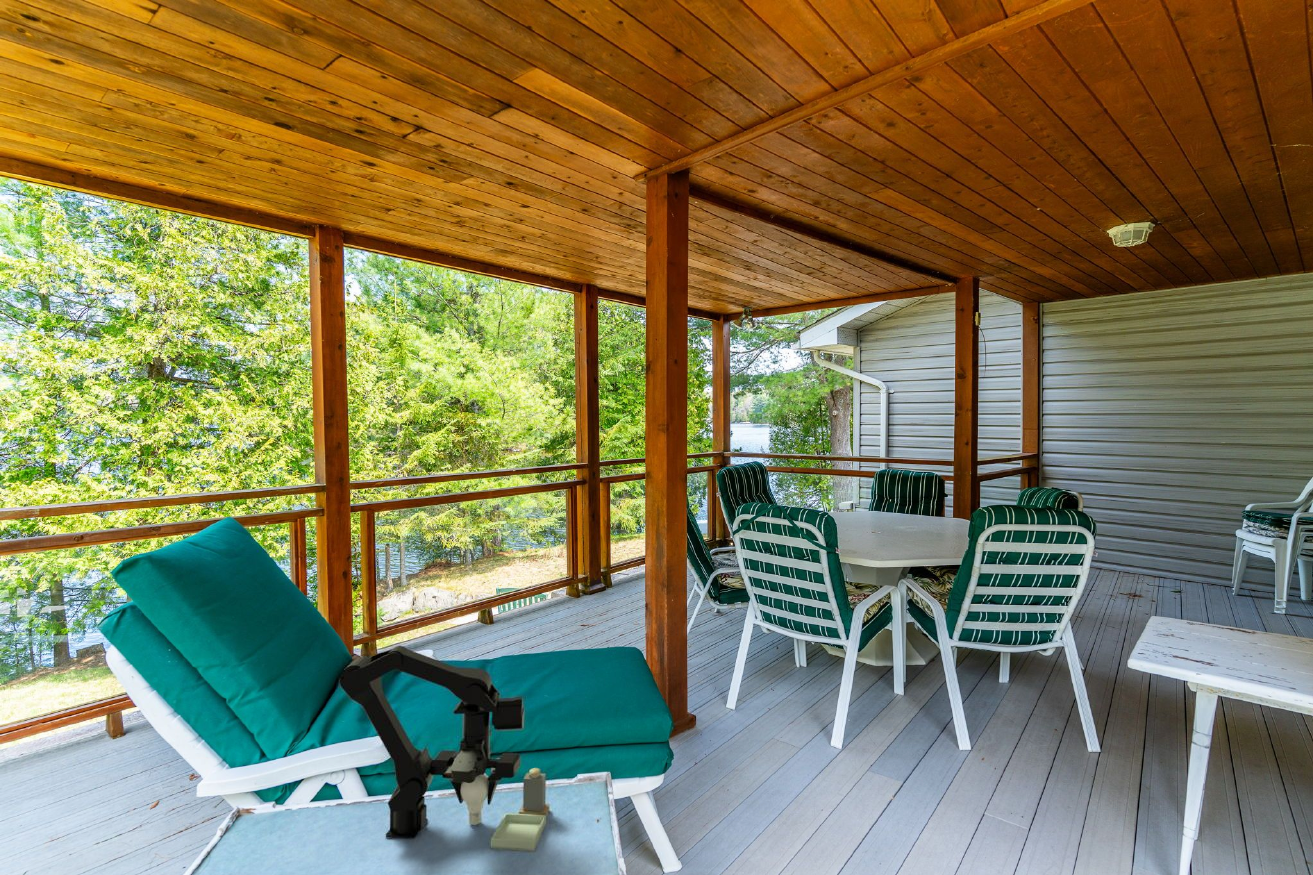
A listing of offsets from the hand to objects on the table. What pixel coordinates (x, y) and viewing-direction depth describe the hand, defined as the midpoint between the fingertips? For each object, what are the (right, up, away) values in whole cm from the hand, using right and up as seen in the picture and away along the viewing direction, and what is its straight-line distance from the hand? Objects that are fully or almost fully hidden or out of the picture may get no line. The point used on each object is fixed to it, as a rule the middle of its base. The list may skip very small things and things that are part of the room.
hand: (475, 803), depth 132 cm
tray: (+11, -4, -5) cm, 12 cm away
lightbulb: (0, -5, 0) cm, 5 cm away
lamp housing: (+12, -5, +3) cm, 14 cm away
